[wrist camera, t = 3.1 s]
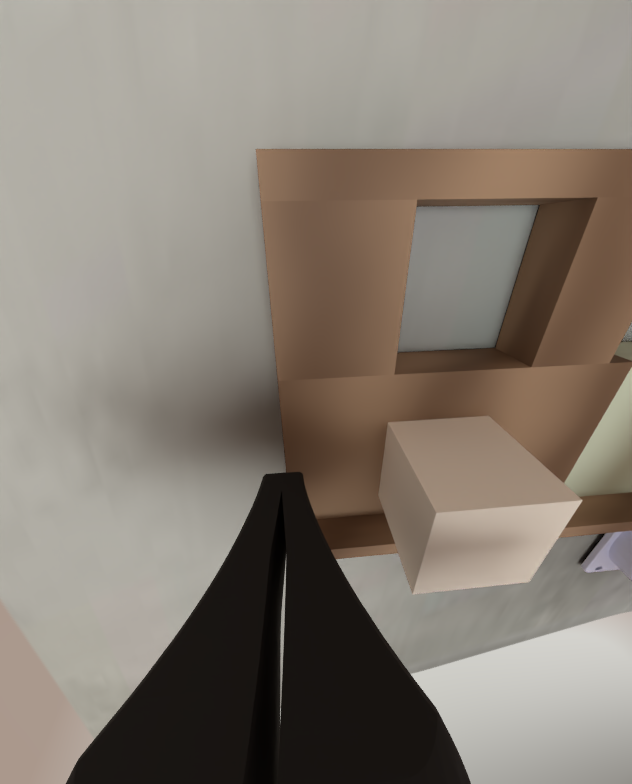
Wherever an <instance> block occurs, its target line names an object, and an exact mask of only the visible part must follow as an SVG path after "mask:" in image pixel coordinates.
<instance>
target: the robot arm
mask: <svg viewBox="0 0 632 784" xmlns="http://www.w3.org/2000/svg"><path fill="white" fill-rule="evenodd" d="M285 561H286V597H285V628H284V653H283V678H282V700H281V722H280V635H281V609H282V597H283V585H284V573H285ZM581 567H582V569H583V570H584V571H585V572H599V571H609V570H618V569H620V570H621V571H622V572H623V573H624V574H625V575H626V576H627V577H628V578H629V579H630V580H631V581H632V531H623V532H613V533H606V534H605V535H604V536H603V537H602V539H601V540H600V541H599V543H598V544H597V545H596V546H595V548H594V549H593V550H592V552H591V553H590V554H589V555H588V557H587V558H586V559H585V561H584V562H583V563H582V565H581ZM66 784H471V783H470V780H469V777H468V774H467V772H466V769H465V767H464V765H463V762H462V760H461V757H460V755H459V753H458V751H457V748H456V746H455V744H454V742H453V740H452V738H451V736H450V734H449V732H448V730H447V728H446V726H445V724H444V722H443V720H442V718H441V717H440V715H439V713H438V711H437V709H436V707H435V706H434V705H433V703H432V702H431V701H430V699H429V698H428V697H427V696H426V694H425V693H424V692H423V690H422V689H421V688H420V686H419V685H418V684H417V682H416V681H415V680H414V678H413V677H412V676H411V674H410V673H409V672H408V670H407V669H406V668H405V666H404V665H403V664H402V662H401V661H400V659H399V658H398V657H397V655H396V654H395V652H394V651H393V650H392V648H391V647H390V645H389V644H388V643H387V641H386V640H385V638H384V637H383V635H382V634H381V632H380V631H379V629H378V628H377V626H376V625H375V623H374V622H373V620H372V619H371V617H370V616H369V614H368V613H367V611H366V610H365V608H364V607H363V605H362V604H361V602H360V600H359V599H358V597H357V596H356V594H355V592H354V591H353V589H352V587H351V586H350V584H349V582H348V581H347V579H346V577H345V575H344V573H343V572H342V570H341V568H340V566H339V565H338V563H337V561H336V559H335V557H334V555H333V553H332V551H331V549H330V547H329V545H328V543H327V541H326V539H325V537H324V535H323V533H322V530H321V528H320V526H319V524H318V521H317V519H316V516H315V514H314V512H313V509H312V506H311V504H310V501H309V498H308V495H307V491H306V488H305V483H304V478H303V474H302V473H301V472H288V473H275V474H266V475H265V476H263V479H262V482H261V485H260V488H259V491H258V494H257V496H256V499H255V501H254V503H253V506H252V508H251V510H250V512H249V515H248V517H247V519H246V521H245V523H244V525H243V527H242V529H241V531H240V533H239V535H238V537H237V539H236V541H235V543H234V545H233V546H232V548H231V550H230V552H229V554H228V556H227V558H226V559H225V561H224V563H223V565H222V566H221V568H220V570H219V571H218V573H217V575H216V576H215V578H214V580H213V581H212V583H211V584H210V586H209V588H208V589H207V591H206V592H205V594H204V595H203V597H202V598H201V600H200V601H199V603H198V604H197V606H196V607H195V609H194V610H193V612H192V613H191V615H190V616H189V618H188V619H187V621H186V622H185V624H184V625H183V626H182V628H181V629H180V631H179V632H178V633H177V635H176V636H175V638H174V639H173V640H172V642H171V643H170V644H169V646H168V647H167V648H166V650H165V651H164V652H163V654H162V655H161V656H160V658H159V659H158V660H157V662H156V663H155V664H154V666H153V667H152V668H151V670H150V671H149V672H148V674H147V675H146V676H145V678H144V679H143V680H142V682H141V683H140V684H139V685H138V687H137V688H136V689H135V690H134V692H133V693H132V694H131V696H130V697H129V698H128V699H127V700H126V702H125V703H124V704H123V705H122V707H121V708H120V709H119V710H118V711H117V713H116V714H115V715H114V716H113V717H112V719H111V720H110V721H109V722H108V724H107V725H106V726H105V727H104V728H103V730H102V731H101V732H100V733H99V735H98V736H97V737H96V738H95V739H94V741H93V742H92V743H91V744H90V746H89V747H88V748H87V749H86V751H85V752H84V753H83V754H82V755H81V757H80V758H79V759H78V761H77V763H76V765H75V767H74V769H73V771H72V772H71V775H70V777H69V778H68V780H67V783H66Z"/></svg>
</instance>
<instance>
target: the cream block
mask: <svg viewBox="0 0 632 784" xmlns="http://www.w3.org/2000/svg"><path fill="white" fill-rule="evenodd" d="M378 496H379V499H380V501H381V504H382V507H383V510H384V513H385V516H386V519H387V522H388V525H389V527H390V530H391V533H392V536H393V539H394V542H395V545H396V548H397V551H398V554H399V556H400V559H401V562H402V565H403V568H404V571H405V574H406V577H407V580H408V582H409V585H410V588H411V591H412V594H421V593H431V592H440V591H450V590H459V589H468V588H478V587H487V586H497V585H506V584H516V583H525V582H529V581H530V580H531V578H532V577H533V575H534V574H535V572H536V571H537V569H538V568H539V566H540V565H541V563H542V562H543V560H544V559H545V557H546V556H547V554H548V553H549V551H550V549H551V548H552V546H553V545H554V543H555V542H556V540H557V539H558V537H559V536H560V534H561V533H562V531H563V530H564V528H565V527H566V525H567V524H568V522H569V521H570V519H571V517H572V516H573V514H574V513H575V511H576V510H577V508H578V507H579V505H580V504H581V502H582V501H583V500H582V499H581V498H580V497H579V496H577V495H576V494H575V493H574V492H573V491H572V490H571V489H570V488H569V487H567V486H566V485H565V484H564V483H563V482H562V481H561V480H560V479H558V478H557V477H556V476H555V475H554V474H553V473H552V472H551V471H550V470H548V469H547V468H546V467H545V466H544V465H543V464H542V463H541V462H540V461H538V460H537V459H536V458H535V457H534V456H533V455H532V454H531V453H530V452H528V451H527V450H526V449H525V448H524V447H523V446H522V445H521V444H519V443H518V442H517V441H516V440H515V439H514V438H513V437H512V436H511V435H509V434H508V433H507V432H506V431H505V430H504V429H503V428H502V427H501V426H499V425H498V424H497V423H496V422H495V421H494V420H493V419H492V418H491V417H489V416H478V417H462V418H447V419H431V420H416V421H400V422H388V426H387V433H386V441H385V449H384V456H383V464H382V471H381V479H380V486H379V494H378Z"/></svg>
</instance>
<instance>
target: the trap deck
mask: <svg viewBox="0 0 632 784" xmlns="http://www.w3.org/2000/svg"><path fill="white" fill-rule="evenodd" d="M256 156H257V167H258V177H259V188H260V198H261V209H262V220H263V230H264V241H265V251H266V262H267V272H268V283H269V294H270V304H271V315H272V325H273V336H274V347H275V357H276V368H277V378H278V389H279V400H280V410H281V421H282V431H283V442H284V453H285V463H286V473H288V472H301V473H302V474H303V478H304V483H305V488H306V491H307V495H308V498H309V501H310V504H311V506H312V509H313V512H314V514H315V516H316V519H317V521H318V524H319V526H320V528H321V530H322V533H323V535H324V537H325V539H326V541H327V543H328V545H329V547H330V549H331V551H332V553H333V555H334V557H335V559H341V558H352V557H362V556H372V555H383V554H393V553H398V551H397V548H396V545H395V542H394V539H393V536H392V533H391V530H390V527H389V525H388V522H387V519H386V516H385V513H384V510H383V507H382V504H381V501H380V499H379V496H378V494H379V486H380V479H381V471H382V464H383V456H384V449H385V441H386V433H387V426H388V422H400V421H416V420H431V419H447V418H462V417H478V416H489V417H491V418H492V419H493V420H494V421H495V422H496V423H497V424H498V425H499V426H501V427H502V428H503V429H504V430H505V431H506V432H507V433H508V434H509V435H511V436H512V437H513V438H514V439H515V440H516V441H517V442H518V443H519V444H521V445H522V446H523V447H524V448H525V449H526V450H527V451H528V452H530V453H531V454H532V455H533V456H534V457H535V458H536V459H537V460H538V461H540V462H541V463H542V464H543V465H544V466H545V467H546V468H547V469H548V470H550V471H551V472H552V473H553V474H554V475H555V476H556V477H557V478H558V479H560V480H561V481H562V482H563V483H564V484H565V485H566V486H567V487H569V488H570V489H571V490H572V491H573V492H574V493H575V494H576V495H577V496H579V497H580V498H581V499H582V500H583V501H582V502H581V504H580V505H579V507H578V508H577V510H576V511H575V513H574V514H573V516H572V517H571V519H570V521H569V522H568V524H567V525H566V527H565V528H564V530H563V531H562V533H561V534H560V536H559V537H558V538H560V537H571V536H581V535H592V534H602V533H613V532H623V531H632V341H630V342H621V341H622V339H623V337H624V335H625V333H626V331H627V330H628V328H629V326H630V324H631V322H632V149H256ZM490 205H540V206H539V209H538V212H537V216H536V219H535V222H534V225H533V228H532V232H531V235H530V238H529V241H528V244H527V248H526V251H525V254H524V257H523V261H522V264H521V267H520V270H519V273H518V277H517V280H516V283H515V286H514V289H513V293H512V296H511V299H510V302H509V306H508V309H507V312H506V315H505V318H504V322H503V325H502V328H501V331H500V334H499V338H498V341H497V344H496V347H495V348H485V349H464V350H443V351H422V352H401V353H397V350H398V343H399V335H400V327H401V320H402V312H403V305H404V297H405V290H406V282H407V275H408V267H409V259H410V252H411V244H412V237H413V229H414V222H415V214H416V206H490Z"/></svg>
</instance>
